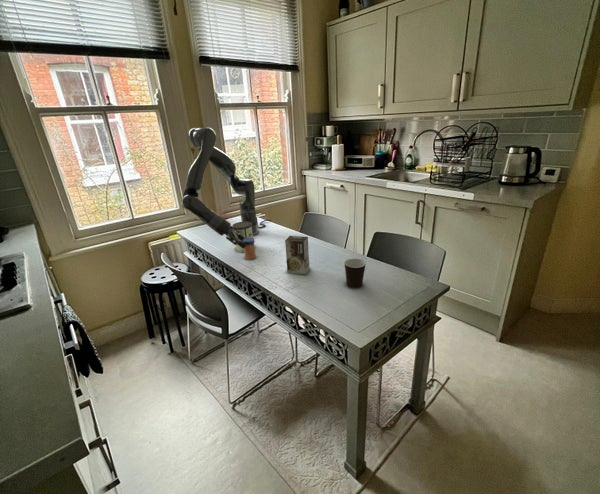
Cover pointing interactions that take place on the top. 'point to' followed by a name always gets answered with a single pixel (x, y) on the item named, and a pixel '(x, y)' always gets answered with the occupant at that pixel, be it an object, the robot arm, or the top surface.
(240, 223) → the coffee can
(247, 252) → the jar
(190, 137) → the robot arm
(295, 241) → the coffee box
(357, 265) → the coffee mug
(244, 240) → the lid
